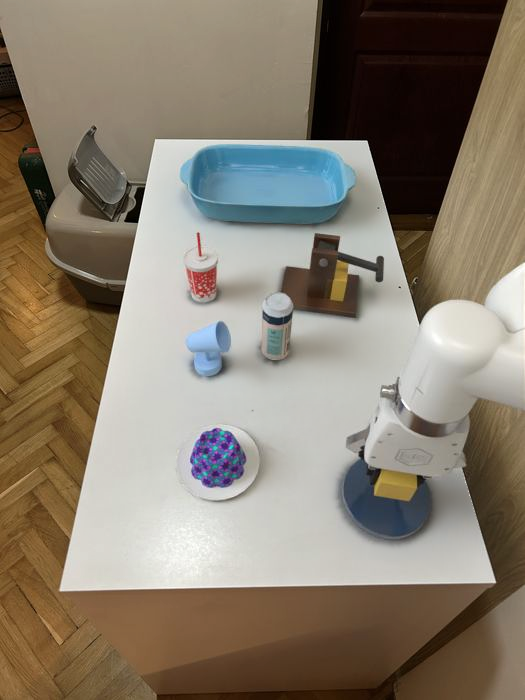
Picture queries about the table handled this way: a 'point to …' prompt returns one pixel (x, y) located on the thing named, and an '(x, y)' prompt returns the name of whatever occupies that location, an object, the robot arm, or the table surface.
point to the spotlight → (209, 347)
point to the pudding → (217, 462)
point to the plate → (383, 506)
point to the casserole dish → (267, 183)
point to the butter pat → (395, 485)
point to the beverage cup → (201, 271)
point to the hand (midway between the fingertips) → (392, 477)
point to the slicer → (320, 282)
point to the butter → (338, 282)
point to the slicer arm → (358, 261)
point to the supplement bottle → (276, 325)
